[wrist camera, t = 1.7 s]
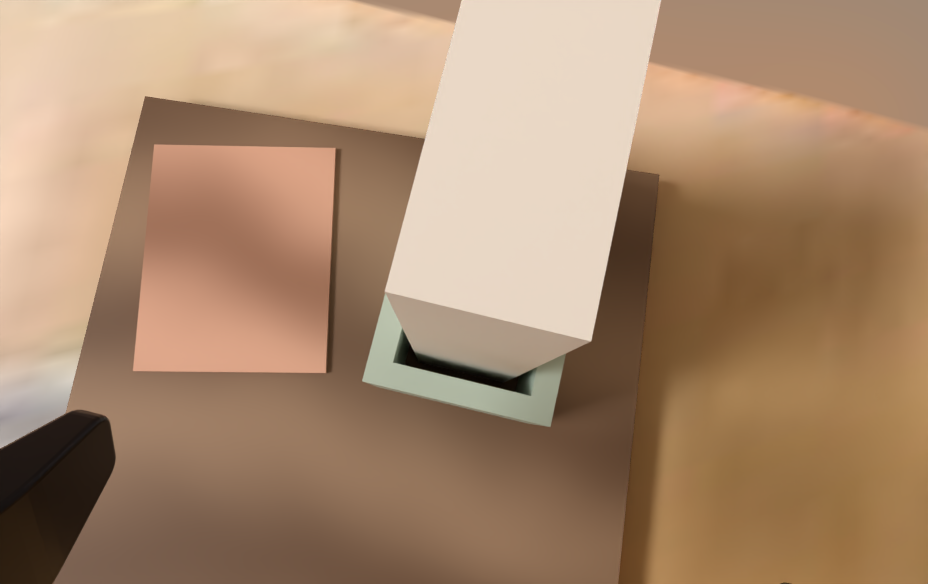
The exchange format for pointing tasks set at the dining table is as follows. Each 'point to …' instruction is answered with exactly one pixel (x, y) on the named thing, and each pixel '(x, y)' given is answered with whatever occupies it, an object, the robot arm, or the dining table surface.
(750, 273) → the dining table surface
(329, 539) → the walnut board
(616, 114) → the tall beige block
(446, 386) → the slot box
